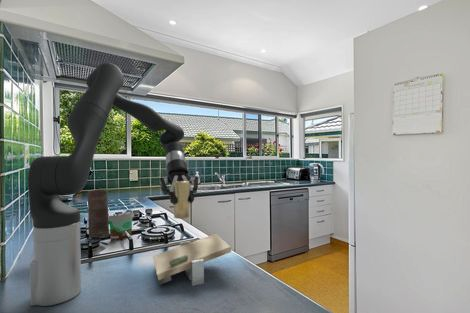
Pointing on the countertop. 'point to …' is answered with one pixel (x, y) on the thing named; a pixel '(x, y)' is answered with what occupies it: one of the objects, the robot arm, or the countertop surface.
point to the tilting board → (188, 256)
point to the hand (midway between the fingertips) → (182, 202)
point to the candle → (98, 213)
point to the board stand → (195, 270)
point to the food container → (120, 225)
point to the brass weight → (182, 199)
